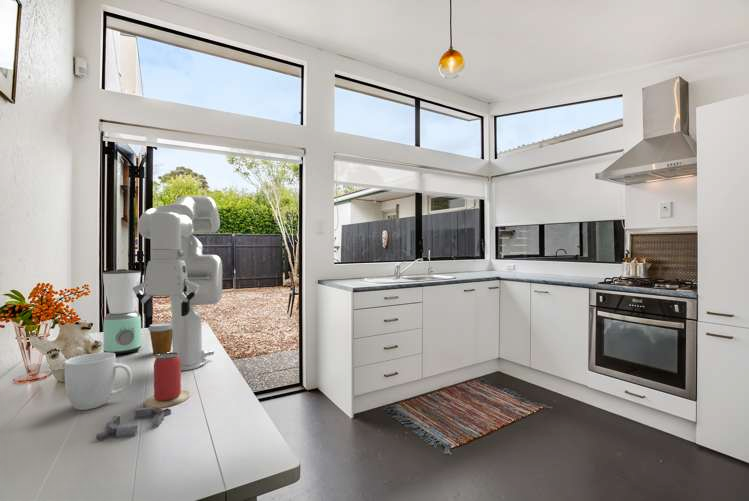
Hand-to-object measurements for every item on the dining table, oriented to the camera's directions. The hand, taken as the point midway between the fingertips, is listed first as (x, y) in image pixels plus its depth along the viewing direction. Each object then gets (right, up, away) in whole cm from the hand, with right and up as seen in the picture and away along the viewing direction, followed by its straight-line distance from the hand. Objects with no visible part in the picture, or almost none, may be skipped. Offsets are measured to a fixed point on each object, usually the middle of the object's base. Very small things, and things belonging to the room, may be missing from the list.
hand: (166, 315), depth 101 cm
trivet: (0, -24, 0) cm, 24 cm away
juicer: (-48, -25, +49) cm, 73 cm away
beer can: (0, -23, 0) cm, 23 cm away
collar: (+1, -24, -15) cm, 28 cm away
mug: (-18, -24, -3) cm, 30 cm away
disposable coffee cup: (-30, -24, +47) cm, 61 cm away
